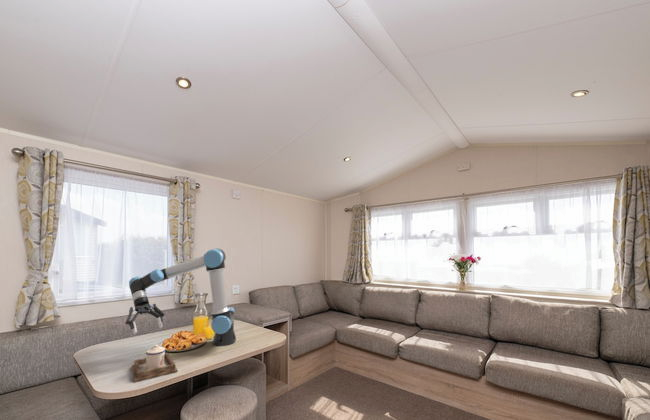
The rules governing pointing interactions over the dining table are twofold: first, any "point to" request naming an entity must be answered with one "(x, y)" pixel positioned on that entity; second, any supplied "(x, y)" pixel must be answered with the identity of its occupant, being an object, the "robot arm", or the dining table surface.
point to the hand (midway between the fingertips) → (148, 330)
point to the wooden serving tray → (143, 374)
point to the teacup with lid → (155, 357)
